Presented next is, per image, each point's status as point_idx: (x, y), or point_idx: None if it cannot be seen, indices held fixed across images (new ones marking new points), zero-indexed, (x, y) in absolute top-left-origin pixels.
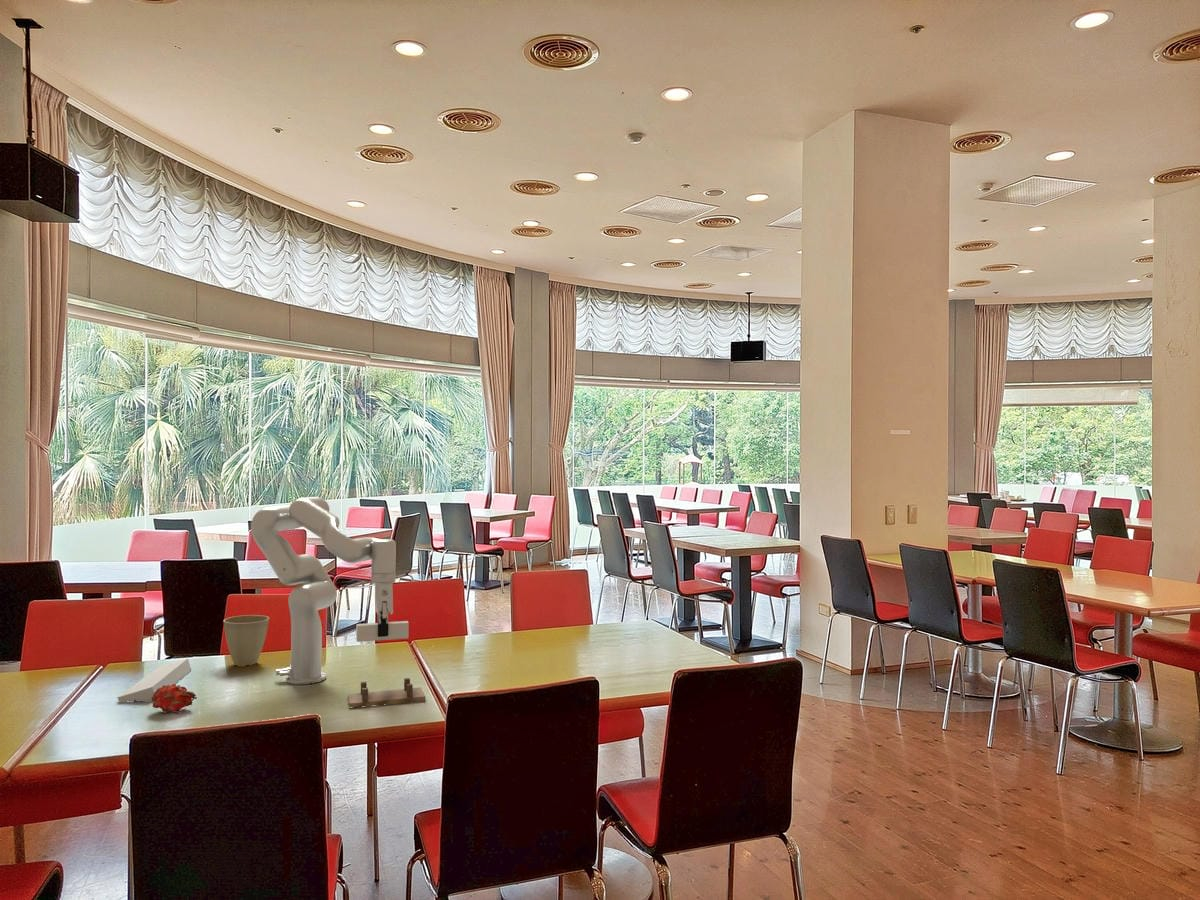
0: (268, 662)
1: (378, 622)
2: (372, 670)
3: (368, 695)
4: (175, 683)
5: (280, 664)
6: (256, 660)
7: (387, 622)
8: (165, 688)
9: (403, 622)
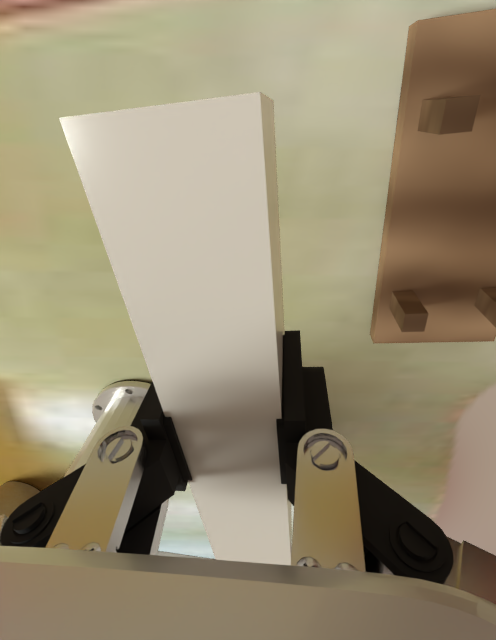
0: (4, 466)
1: (189, 478)
2: (32, 256)
3: (429, 284)
4: (164, 553)
5: (15, 451)
6: (18, 489)
7: (351, 455)
8: None
9: (212, 211)
